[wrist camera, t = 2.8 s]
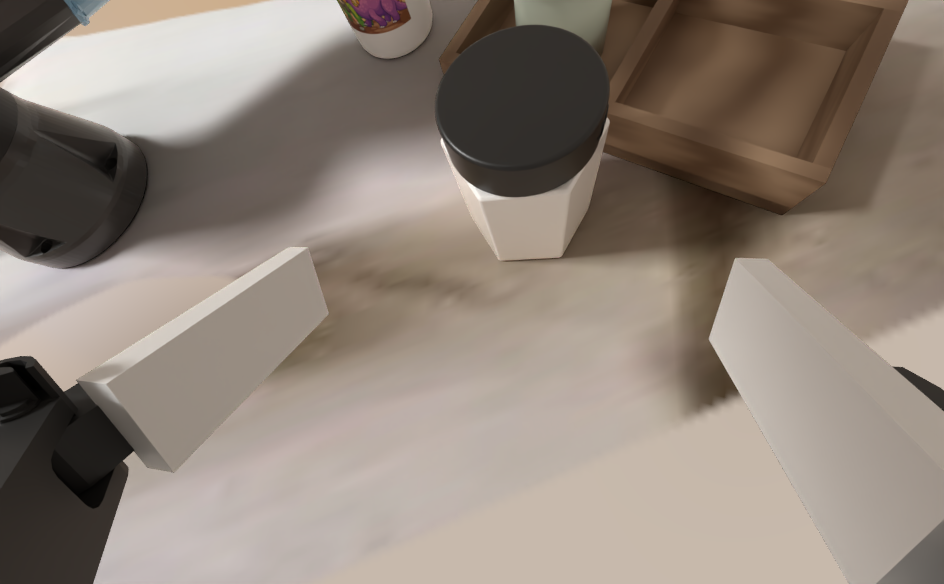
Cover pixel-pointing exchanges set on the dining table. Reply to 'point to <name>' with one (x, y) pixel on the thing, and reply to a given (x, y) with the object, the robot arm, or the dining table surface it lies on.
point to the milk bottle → (389, 24)
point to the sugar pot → (568, 17)
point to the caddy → (730, 86)
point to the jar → (525, 135)
